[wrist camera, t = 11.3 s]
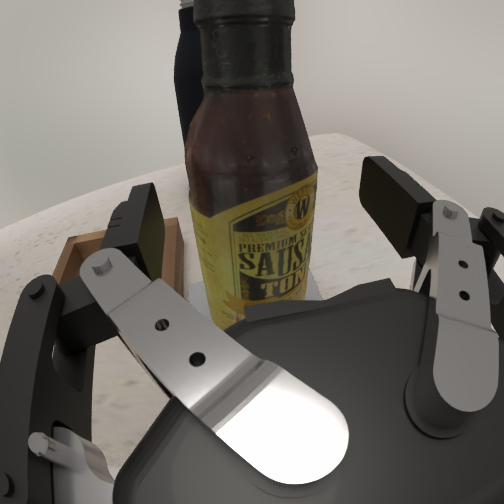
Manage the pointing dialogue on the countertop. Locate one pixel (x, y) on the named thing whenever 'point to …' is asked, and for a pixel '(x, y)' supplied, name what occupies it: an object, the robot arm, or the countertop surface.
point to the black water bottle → (188, 68)
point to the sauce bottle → (249, 160)
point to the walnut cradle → (90, 243)
